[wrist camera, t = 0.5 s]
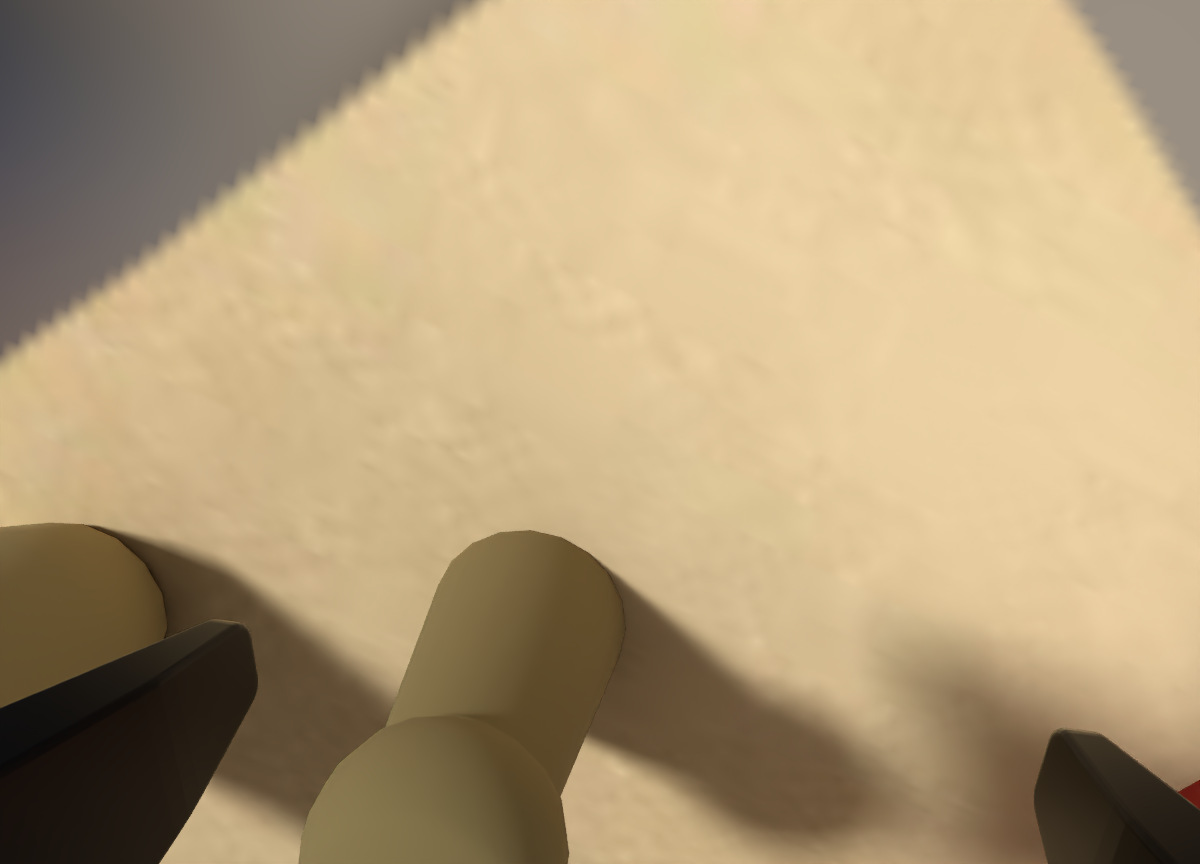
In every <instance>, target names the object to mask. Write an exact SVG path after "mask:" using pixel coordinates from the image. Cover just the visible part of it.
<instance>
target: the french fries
mask: <svg viewBox="0 0 1200 864" xmlns="http://www.w3.org/2000/svg"><path fill="white" fill-rule="evenodd" d="M1178 793H1179V794H1181V795H1182V796H1183V797H1184V798H1186V799H1187V800H1188V801H1190V802H1191V803H1192V804H1194V805H1195V806H1196V807H1197V808H1199V809H1200V780H1199V781H1197V782H1195V783H1194V784H1192V785H1190V786H1188V787H1187V788H1185V789H1183V790H1181V791H1180V792H1178Z"/></svg>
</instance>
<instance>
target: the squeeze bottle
mask: <svg viewBox="0 0 1200 864" xmlns="http://www.w3.org/2000/svg"><path fill="white" fill-rule="evenodd" d="M166 630H167V620H166V614H165V608H164V602H163V596H162V593H161V591H160V589H159V588H158V586H157V584H156V582H155V581H154V579H153V577H152V575H151V574H150V572H149V570H148V568H147V567H146V565H145V563H144V562H143V561H141V560H140V559H139V558H138V557H137V556H136V555H135V554H134V553H132V552H131V551H130V550H129V549H128V548H127V547H126V546H124V545H123V544H122V543H121V542H120V541H119V540H118V539H116V538H114V537H112V536H109V535H107V534H105V533H102V532H100V531H98V530H95V529H93V528H91V527H88V526H86V525H84V524H63V523H44V524H32V525H21V526H10V527H0V708H1V707H3V706H6V705H8V704H10V703H13V702H15V701H18V700H20V699H22V698H25V697H27V696H29V695H32V694H34V693H37V692H39V691H41V690H44V689H46V688H48V687H51V686H53V685H56V684H58V683H60V682H63V681H65V680H68V679H70V678H72V677H75V676H77V675H79V674H82V673H84V672H87V671H89V670H91V669H94V668H96V667H98V666H101V665H103V664H106V663H108V662H110V661H113V660H115V659H118V658H120V657H122V656H125V655H127V654H129V653H132V652H134V651H137V650H139V649H141V648H144V647H146V646H148V645H151V644H153V643H156V642H158V641H160V640H163V639H164V637H165V633H166Z"/></svg>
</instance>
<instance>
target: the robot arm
mask: <svg viewBox="0 0 1200 864" xmlns="http://www.w3.org/2000/svg"><path fill="white" fill-rule="evenodd" d="M257 687H258V675H257V669H256V663H255V657H254V651H253V646H252V640H251V634H250V631H249V629H248V627H247V626H246V625H245V624H243V623H241V622H234V621H226V620H218V619H213V620H208V621H206V622H203V623H201V624H198V625H196V626H194V627H191V628H189V629H187V630H184V631H182V632H179V633H177V634H175V635H172V636H170V637H168V638H165V639H163V640H160V641H158V642H156V643H153V644H151V645H148V646H146V647H144V648H141V649H139V650H137V651H134V652H132V653H129V654H127V655H125V656H122V657H120V658H118V659H115V660H113V661H110V662H108V663H106V664H103V665H101V666H98V667H96V668H94V669H91V670H89V671H87V672H84V673H82V674H79V675H77V676H75V677H72V678H70V679H68V680H65V681H63V682H60V683H58V684H56V685H53V686H51V687H48V688H46V689H44V690H41V691H39V692H37V693H34V694H32V695H29V696H27V697H25V698H22V699H20V700H18V701H15V702H13V703H10V704H8V705H6V706H3V707H1V708H0V864H159V863H160V862H161V860H162V859H163V857H164V856H165V854H166V853H167V851H168V850H169V848H170V847H171V845H172V844H173V842H174V841H175V839H176V838H177V836H178V834H179V833H180V831H181V830H182V828H183V827H184V825H185V823H186V822H187V820H188V819H189V817H190V815H191V814H192V812H193V810H194V809H195V807H196V805H197V803H198V802H199V800H200V798H201V796H202V795H203V793H204V791H205V789H206V787H207V785H208V783H209V782H210V780H211V778H212V776H213V774H214V772H215V771H216V769H217V767H218V765H219V763H220V761H221V759H222V758H223V756H224V754H225V752H226V750H227V748H228V747H229V745H230V743H231V741H232V739H233V737H234V735H235V734H236V732H237V730H238V728H239V726H240V724H241V722H242V721H243V719H244V717H245V715H246V713H247V711H248V710H249V708H250V706H251V704H252V702H253V700H254V698H255V695H256V691H257ZM1034 807H1035V813H1036V818H1037V822H1038V826H1039V830H1040V834H1041V838H1042V842H1043V846H1044V850H1045V854H1046V859H1047V863H1048V864H1200V809H1199V808H1197V807H1196V806H1195V805H1194V804H1192V803H1191V802H1190V801H1188V800H1187V799H1186V798H1184V797H1183V796H1182V795H1181V794H1179V793H1178V792H1177V791H1175V790H1174V789H1173V788H1171V787H1170V786H1169V785H1168V784H1166V783H1165V782H1164V781H1162V780H1161V779H1160V778H1158V777H1157V776H1156V775H1155V774H1153V773H1152V772H1151V771H1149V770H1148V769H1147V768H1145V767H1144V766H1143V765H1142V764H1140V763H1139V762H1138V761H1136V760H1135V759H1134V758H1132V757H1131V756H1130V755H1129V754H1127V753H1126V752H1125V751H1123V750H1122V749H1121V748H1119V747H1118V746H1117V745H1115V744H1114V743H1113V742H1112V741H1110V740H1109V739H1108V738H1106V737H1105V736H1103V735H1101V734H1099V733H1096V732H1090V731H1083V730H1075V729H1067V728H1060V729H1057V730H1055V731H1054V732H1053V733H1052V735H1051V737H1050V739H1049V742H1048V745H1047V748H1046V752H1045V755H1044V759H1043V762H1042V765H1041V769H1040V772H1039V775H1038V779H1037V782H1036V786H1035V791H1034Z"/></svg>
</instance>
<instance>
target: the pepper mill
mask: <svg viewBox="0 0 1200 864" xmlns="http://www.w3.org/2000/svg"><path fill="white" fill-rule="evenodd" d="M625 630H626V629H625V621H624V612H623V604H622V600H621V598H620V596H619V594H618V592H617V590H616V588H615V586H614V584H613V582H612V579H611V577H610V575H609V574H608V573H607V572H606V571H605V570H604V569H603V568H602V567H601V566H600V565H599V564H598V563H597V562H596V561H595V559H594V558H593V557H592V556H591V555H590V554H589V553H587V552H586V551H584V550H582V549H580V548H579V547H577V546H575V545H573V544H572V543H570V542H568V541H566V540H565V539H563V538H561V537H557V536H553V535H548V534H544V533H540V532H535V531H531V530H529V531H514V532H500V533H497V534H495V535H492V536H490V537H487V538H485V539H482V540H480V541H477V542H475V543H472V544H471V545H470V546H469V547H468V548H467V549H466V550H464V551H463V552H462V553H461V554H460V555H459V556H457V557H456V558H455V559H454V560H453V561H452V562H451V563H450V565H449V567H448V569H447V571H446V572H445V574H444V576H443V578H442V580H441V581H440V583H439V585H438V588H437V590H436V593H435V596H434V598H433V601H432V604H431V606H430V609H429V612H428V614H427V617H426V620H425V622H424V625H423V628H422V630H421V633H420V636H419V638H418V641H417V644H416V646H415V649H414V651H413V654H412V657H411V659H410V662H409V665H408V667H407V670H406V673H405V675H404V678H403V681H402V683H401V686H400V689H399V691H398V694H397V697H396V699H395V702H394V705H393V707H392V710H391V713H390V715H389V718H388V721H387V723H386V726H385V727H384V728H382V729H380V730H379V731H378V732H376V733H375V734H374V735H373V736H371V737H370V738H369V739H368V740H367V741H365V742H364V743H363V744H362V745H360V746H359V747H358V748H357V749H355V750H354V751H353V752H352V753H351V754H349V755H348V756H347V757H346V758H345V759H343V760H342V761H341V762H340V763H339V764H338V765H337V767H336V768H335V769H334V771H333V772H332V774H331V775H330V777H329V778H328V780H327V781H326V783H325V785H324V786H323V788H322V790H321V792H320V794H319V795H318V797H317V799H316V801H315V803H314V804H313V806H312V808H311V810H310V812H309V814H308V817H307V820H306V824H305V827H304V831H303V834H302V838H301V847H300V856H299V864H567V863H568V857H569V850H568V842H567V834H566V827H565V820H564V813H563V807H562V800H561V798H560V796H561V794H562V791H563V789H564V787H565V784H566V782H567V779H568V777H569V775H570V772H571V770H572V767H573V765H574V763H575V760H576V758H577V756H578V753H579V751H580V748H581V746H582V744H583V741H584V739H585V737H586V734H587V732H588V729H589V727H590V725H591V722H592V720H593V717H594V715H595V713H596V710H597V708H598V706H599V703H600V701H601V698H602V696H603V694H604V691H605V689H606V686H607V684H608V682H609V679H610V677H611V675H612V672H613V670H614V667H615V665H616V663H617V660H618V658H619V655H620V651H621V647H622V642H623V638H624V634H625Z"/></svg>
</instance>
